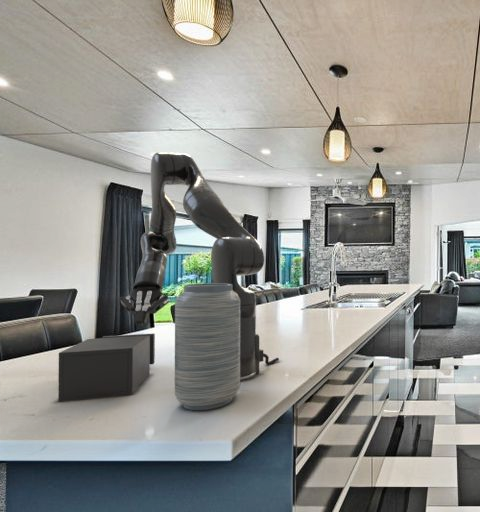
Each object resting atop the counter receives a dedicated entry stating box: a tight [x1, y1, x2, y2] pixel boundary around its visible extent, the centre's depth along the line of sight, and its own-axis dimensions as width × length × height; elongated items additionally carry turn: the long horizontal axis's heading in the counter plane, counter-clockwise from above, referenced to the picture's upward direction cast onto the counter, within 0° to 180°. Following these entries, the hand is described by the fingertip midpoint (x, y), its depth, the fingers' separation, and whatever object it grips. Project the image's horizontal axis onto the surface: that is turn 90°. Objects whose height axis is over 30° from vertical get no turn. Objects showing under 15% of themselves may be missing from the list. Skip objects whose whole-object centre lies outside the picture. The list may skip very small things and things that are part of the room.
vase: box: [174, 282, 241, 411], centre depth 76 cm, size 12×12×23 cm
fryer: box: [57, 335, 151, 403], centre depth 85 cm, size 15×13×10 cm
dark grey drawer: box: [101, 333, 156, 365], centre depth 95 cm, size 18×11×8 cm, turn 19°
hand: (139, 324), depth 108 cm, fingers closed
